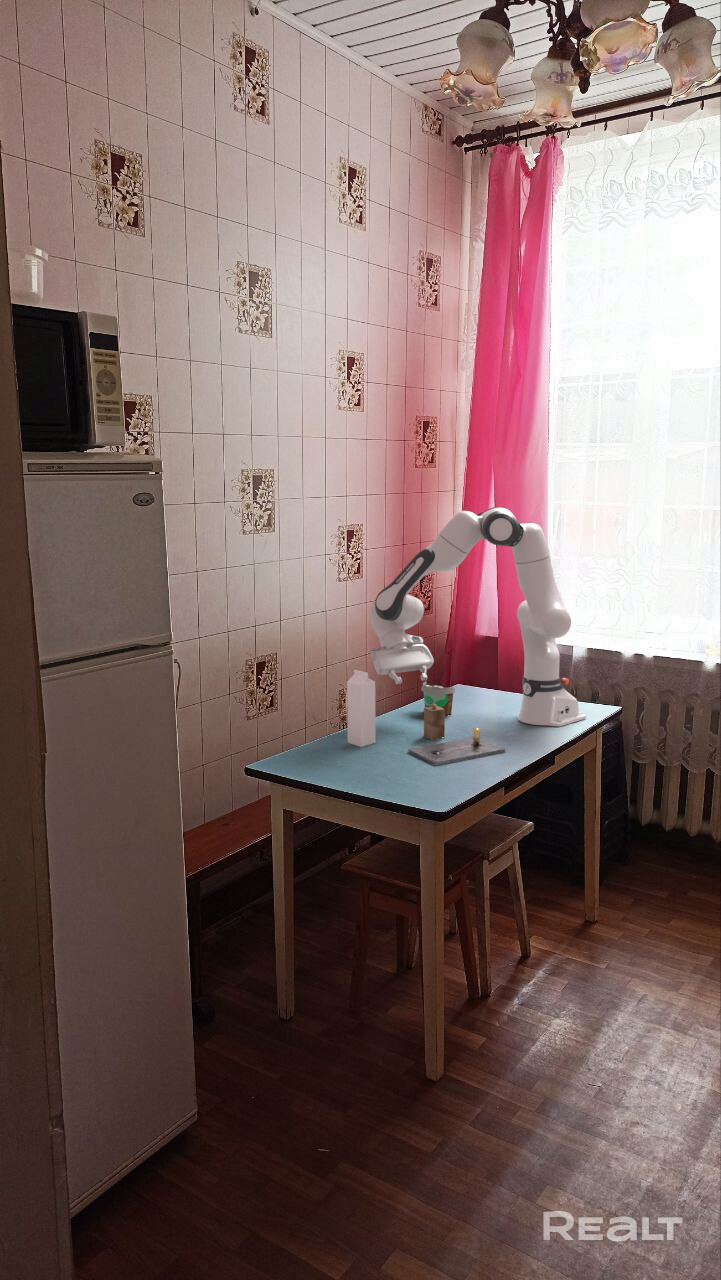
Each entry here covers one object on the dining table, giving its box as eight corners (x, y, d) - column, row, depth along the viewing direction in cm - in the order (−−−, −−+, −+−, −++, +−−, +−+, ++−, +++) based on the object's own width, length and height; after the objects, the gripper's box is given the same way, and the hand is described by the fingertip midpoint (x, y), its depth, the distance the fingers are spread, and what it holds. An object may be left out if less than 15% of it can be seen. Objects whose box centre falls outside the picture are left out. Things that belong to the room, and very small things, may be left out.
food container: (413, 713, 299) (413, 684, 297) (424, 709, 304) (424, 681, 302) (444, 720, 291) (444, 690, 290) (454, 716, 296) (455, 686, 294)
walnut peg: (436, 734, 276) (436, 702, 274) (444, 737, 272) (444, 705, 270) (423, 736, 274) (424, 703, 272) (432, 740, 270) (432, 707, 268)
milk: (362, 739, 272) (361, 667, 268) (375, 743, 267) (375, 671, 263) (347, 743, 268) (346, 670, 264) (360, 747, 263) (360, 674, 259)
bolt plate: (475, 739, 269) (476, 720, 268) (505, 752, 257) (505, 732, 256) (408, 752, 258) (408, 732, 257) (435, 766, 246) (435, 745, 245)
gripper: (371, 643, 280) (387, 679, 273) (426, 636, 290) (443, 672, 283) (364, 654, 285) (380, 691, 278) (418, 648, 294) (435, 683, 288)
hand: (412, 681), depth 281 cm, fingers open, 8 cm apart
